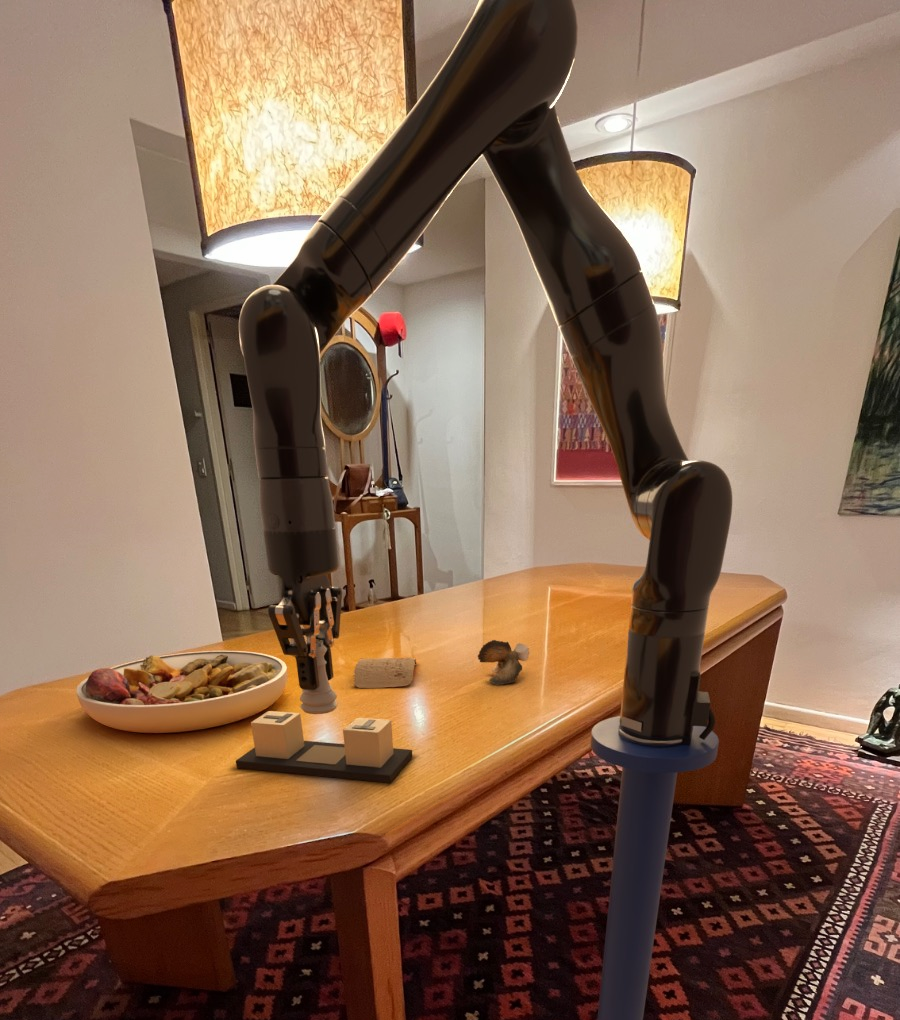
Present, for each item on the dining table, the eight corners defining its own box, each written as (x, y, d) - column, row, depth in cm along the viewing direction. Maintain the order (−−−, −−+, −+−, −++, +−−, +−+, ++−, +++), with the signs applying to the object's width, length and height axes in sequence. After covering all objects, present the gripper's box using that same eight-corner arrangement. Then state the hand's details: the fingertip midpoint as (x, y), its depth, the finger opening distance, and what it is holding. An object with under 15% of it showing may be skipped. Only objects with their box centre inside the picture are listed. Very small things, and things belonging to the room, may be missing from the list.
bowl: (232, 669, 123) (225, 625, 120) (328, 703, 104) (322, 652, 100) (56, 708, 105) (42, 658, 101) (133, 759, 85) (117, 700, 82)
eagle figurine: (482, 661, 119) (466, 665, 111) (505, 628, 117) (491, 629, 108) (515, 688, 119) (502, 693, 110) (540, 655, 116) (528, 658, 108)
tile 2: (393, 753, 82) (391, 718, 80) (380, 767, 79) (378, 731, 77) (360, 750, 84) (357, 716, 82) (346, 764, 80) (342, 728, 78)
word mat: (412, 756, 84) (412, 748, 84) (390, 783, 77) (390, 774, 77) (269, 744, 89) (268, 736, 88) (236, 768, 82) (235, 759, 82)
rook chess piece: (316, 701, 83) (308, 635, 79) (346, 705, 81) (339, 639, 77) (292, 712, 79) (283, 644, 76) (323, 717, 77) (315, 648, 74)
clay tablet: (363, 665, 124) (362, 650, 123) (418, 664, 124) (417, 649, 122) (352, 688, 111) (350, 672, 110) (413, 687, 111) (412, 671, 109)
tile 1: (304, 746, 85) (300, 712, 83) (288, 759, 82) (283, 724, 80) (273, 743, 87) (268, 709, 85) (256, 756, 83) (250, 721, 81)
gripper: (300, 531, 64) (320, 705, 72) (357, 520, 76) (369, 669, 84) (231, 531, 66) (257, 700, 74) (297, 520, 78) (314, 666, 86)
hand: (317, 683), depth 79 cm, fingers closed on rook chess piece, 3 cm apart
